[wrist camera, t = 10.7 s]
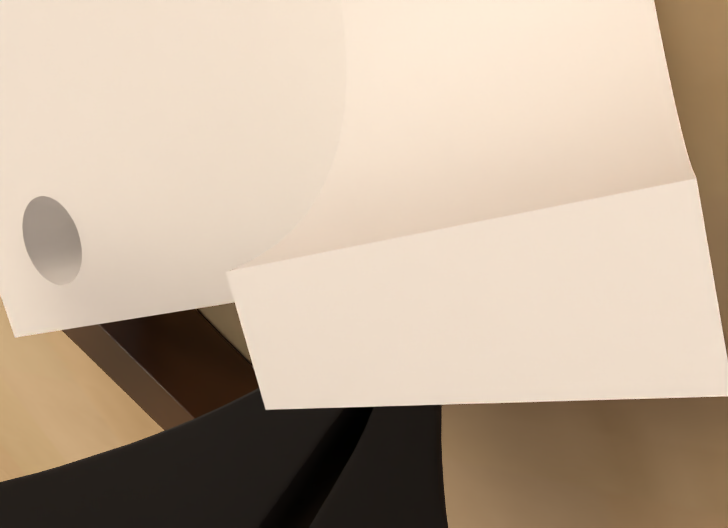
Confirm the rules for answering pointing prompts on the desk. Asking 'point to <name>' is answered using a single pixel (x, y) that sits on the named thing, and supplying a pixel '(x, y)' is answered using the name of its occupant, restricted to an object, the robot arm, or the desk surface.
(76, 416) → the desk surface
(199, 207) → the bracket
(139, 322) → the corner stop
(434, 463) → the robot arm
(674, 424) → the desk surface
